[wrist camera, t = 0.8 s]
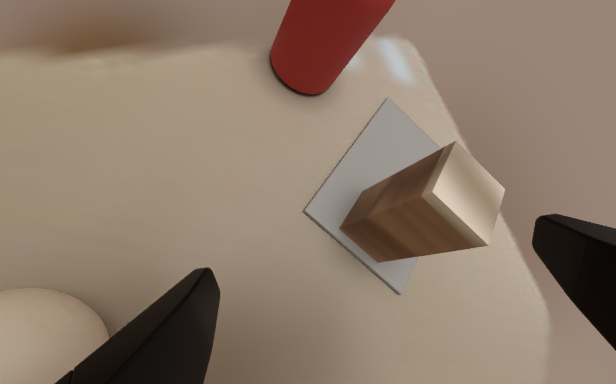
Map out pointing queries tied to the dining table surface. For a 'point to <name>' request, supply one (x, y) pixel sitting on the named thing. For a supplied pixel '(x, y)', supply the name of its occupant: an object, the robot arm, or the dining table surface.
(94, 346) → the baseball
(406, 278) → the rubber mat
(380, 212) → the walnut block
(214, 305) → the robot arm
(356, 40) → the beer can
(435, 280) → the dining table surface
